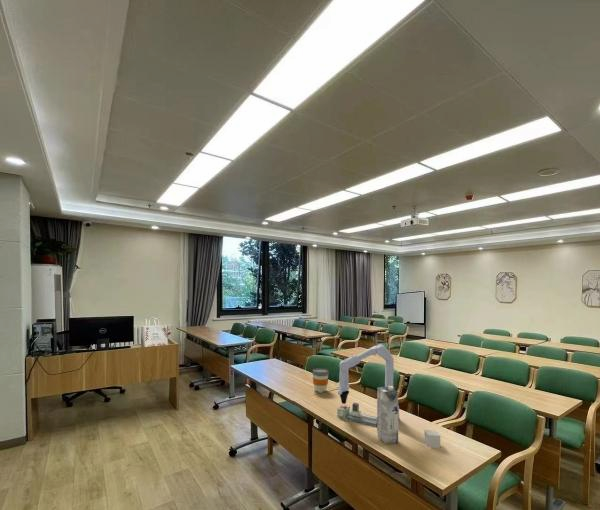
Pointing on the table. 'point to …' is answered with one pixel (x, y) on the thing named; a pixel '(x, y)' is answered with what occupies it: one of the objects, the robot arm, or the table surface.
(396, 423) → the juice carton
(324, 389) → the reusable coffee cup
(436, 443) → the light grey cube
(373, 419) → the rail board
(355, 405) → the carriage
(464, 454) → the table surface
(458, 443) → the table surface
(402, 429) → the table surface
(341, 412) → the end cabinet
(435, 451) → the table surface
